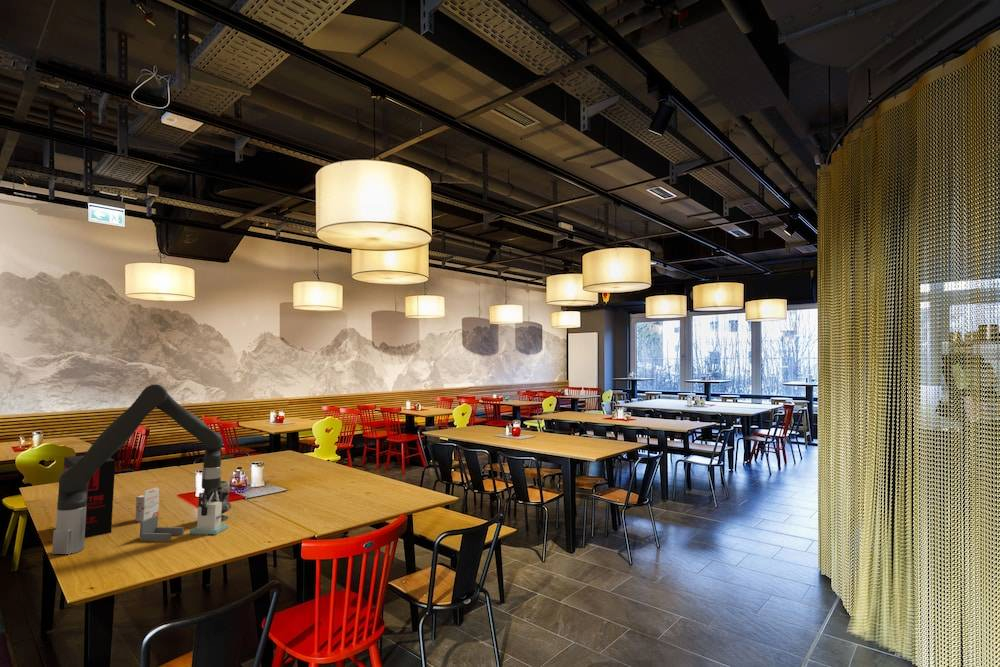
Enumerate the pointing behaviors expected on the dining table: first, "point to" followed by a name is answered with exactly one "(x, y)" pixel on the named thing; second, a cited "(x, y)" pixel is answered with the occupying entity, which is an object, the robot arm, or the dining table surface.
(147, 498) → the ink cartridge box
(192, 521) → the dining table surface
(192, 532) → the tray
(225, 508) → the apothecary jar
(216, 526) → the cream upright block
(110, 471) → the product box
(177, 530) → the bay
